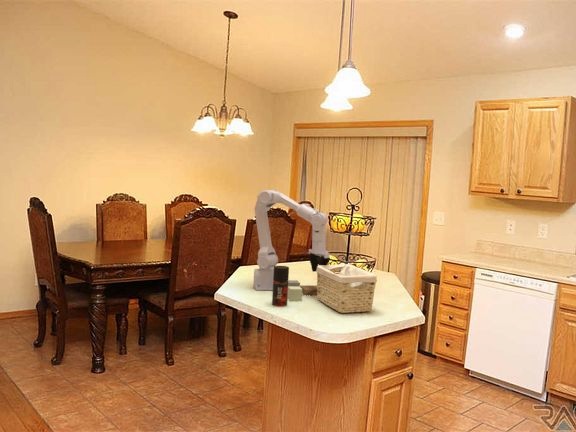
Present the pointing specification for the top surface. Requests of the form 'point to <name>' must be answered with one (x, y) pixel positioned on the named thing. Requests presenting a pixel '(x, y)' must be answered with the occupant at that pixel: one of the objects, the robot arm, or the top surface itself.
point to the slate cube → (293, 283)
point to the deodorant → (280, 286)
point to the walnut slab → (309, 290)
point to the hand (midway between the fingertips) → (318, 272)
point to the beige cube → (294, 293)
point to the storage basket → (345, 287)
